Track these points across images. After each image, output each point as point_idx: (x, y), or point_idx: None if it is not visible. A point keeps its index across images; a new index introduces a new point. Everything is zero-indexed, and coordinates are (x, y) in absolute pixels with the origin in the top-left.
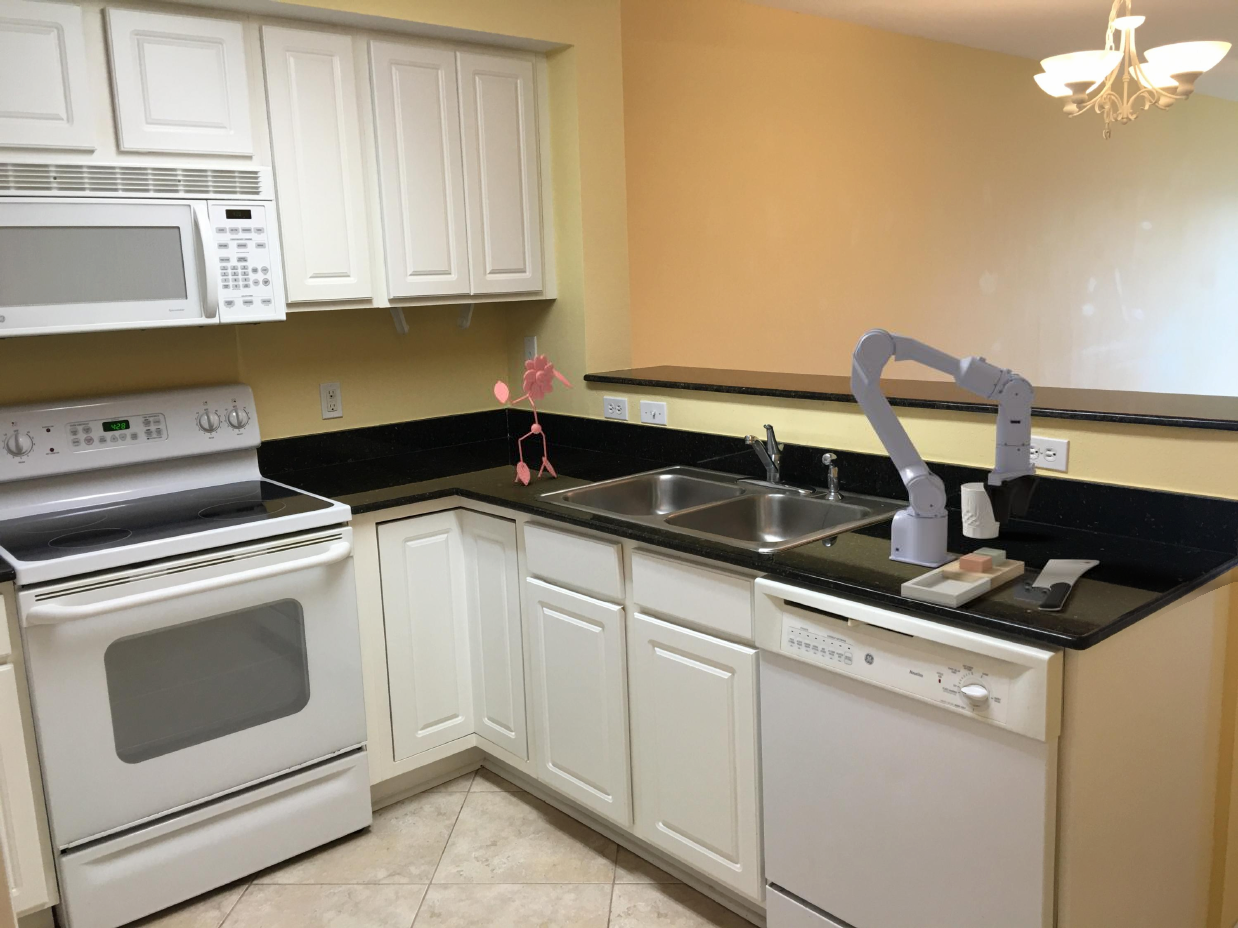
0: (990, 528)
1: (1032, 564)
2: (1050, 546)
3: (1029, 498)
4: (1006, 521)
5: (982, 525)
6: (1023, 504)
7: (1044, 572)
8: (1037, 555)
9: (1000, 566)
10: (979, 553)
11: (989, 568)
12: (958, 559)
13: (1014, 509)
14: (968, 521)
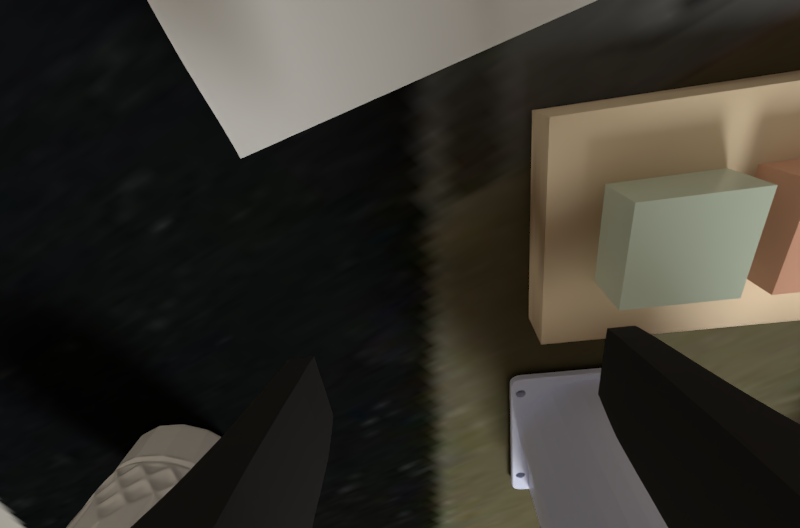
0: (183, 457)
1: (371, 165)
2: (82, 262)
3: (213, 473)
4: (646, 332)
5: None
6: (288, 440)
7: (461, 41)
8: (234, 226)
9: (704, 153)
10: (748, 267)
11: (797, 160)
12: (669, 331)
13: (322, 442)
14: None
